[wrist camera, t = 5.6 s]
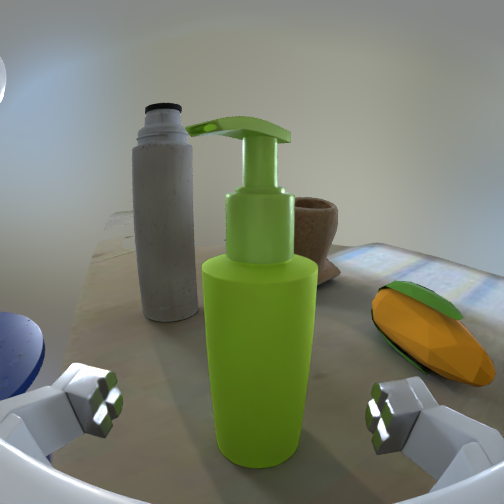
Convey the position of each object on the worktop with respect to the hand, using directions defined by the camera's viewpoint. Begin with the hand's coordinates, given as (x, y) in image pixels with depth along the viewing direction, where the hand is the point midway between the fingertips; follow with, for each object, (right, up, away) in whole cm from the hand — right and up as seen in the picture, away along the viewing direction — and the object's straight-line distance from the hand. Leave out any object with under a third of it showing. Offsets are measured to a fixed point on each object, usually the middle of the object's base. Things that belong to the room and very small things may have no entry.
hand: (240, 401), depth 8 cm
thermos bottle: (-11, -4, +32) cm, 34 cm away
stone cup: (+10, -1, +44) cm, 45 cm away
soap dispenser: (0, -9, +10) cm, 13 cm away
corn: (+19, -7, +18) cm, 27 cm away
